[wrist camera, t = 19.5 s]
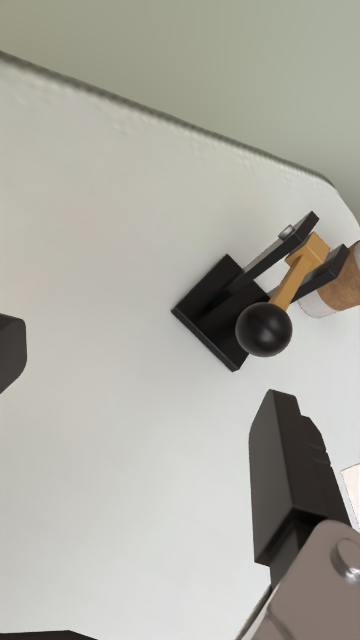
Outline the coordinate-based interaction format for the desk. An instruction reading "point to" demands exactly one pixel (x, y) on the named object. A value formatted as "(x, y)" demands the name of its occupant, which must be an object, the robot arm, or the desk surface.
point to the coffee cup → (336, 289)
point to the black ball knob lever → (279, 303)
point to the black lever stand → (247, 292)
